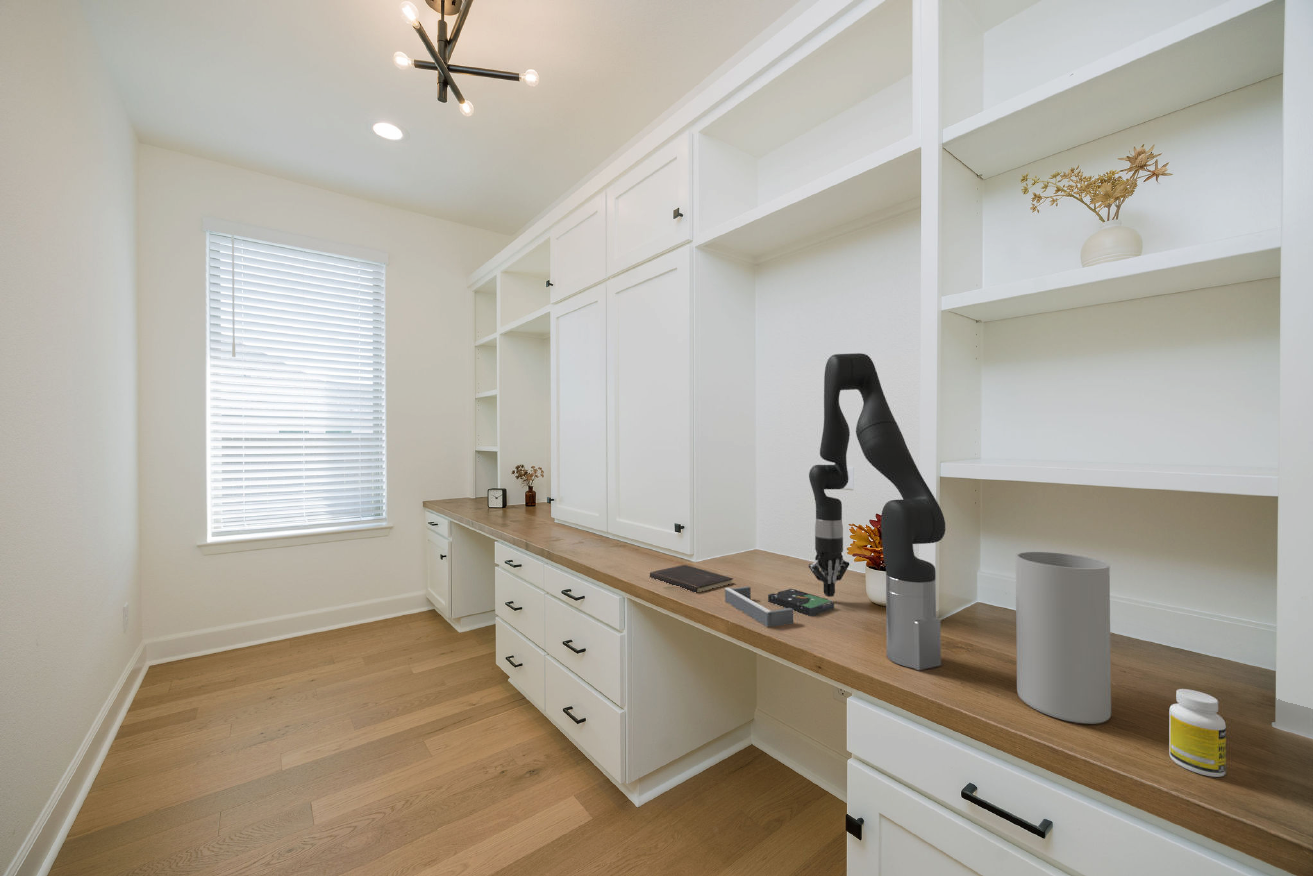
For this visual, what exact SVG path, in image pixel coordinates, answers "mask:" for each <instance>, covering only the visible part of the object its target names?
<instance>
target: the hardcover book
mask: <svg viewBox="0 0 1313 876" xmlns="http://www.w3.org/2000/svg"><path fill="white" fill-rule="evenodd" d="M650 577H651V579H653V578H654V579H653V580H656V579H658V580H660V581H659V582H661V581H664V582H666V583H665V584H667V583H669V584H668V585H670V584H672V585H671V586H673V585H676V586H680V587H682V588H685V589H687V590H686V591H688V590H690V591H689V592H691V591H692V592H691V593H694V592H696V593H695V594H698V593H697V592H699V593H702V591H703V592H705V590H706V591H709V589H710V590H713V589H712V588H714V589H717V588H716V587H718V588H720V587H719V586H721V587H724V585H725V586H729V585H732V584H731V583H733V582H732V580H734V578H733V577H730V576H726V575H723V574H719V573H715V572H711V571H707V570H705V569H701V568H697V567H694V566H690V565H687V564H682V565H678V566H672V567H668V568H663V569H658V570H655V571H650V573H649V578H650ZM658 580H657V581H658ZM664 582H663V583H664ZM728 584H729V585H728ZM676 586H675V587H676ZM682 588H681V589H682ZM685 589H684V590H685Z"/></svg>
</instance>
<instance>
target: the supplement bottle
mask: <svg viewBox="0 0 1313 876" xmlns="http://www.w3.org/2000/svg"><path fill="white" fill-rule="evenodd" d="M1175 698H1176V699H1175V700H1176V702H1177V703H1172V704H1171V705H1170V707H1169V710H1168V711H1169V713H1168V715H1169V716H1168V718H1169V721H1168V722H1169V724H1168V726H1169V727H1168V730H1169V732H1168V734H1169V735H1168V738H1169V745H1168V748H1169V754H1168V755H1169V757H1170V759H1171V761H1173V762H1174V763H1176V765H1178V766H1180V767H1182V768H1184V769H1186V770H1187V771H1190V772H1193V773H1196V774H1199V775H1203V776H1207V777H1211V778H1212V777H1213V778H1220V777H1221V778H1222V777H1224V776H1225V775H1226V773H1227V772H1226V771H1227V767H1226V766H1227V765H1226V764H1227V762H1226V761H1227V759H1226V758H1227V757H1226V755H1227V753H1226V751H1227V750H1226V748H1227V746H1226V744H1227V743H1226V742H1227V741H1226V739H1227V728H1226V721H1225V720H1224V719H1223V717H1222V716H1221V715H1219V714H1217V713H1218V712H1219V700H1218V699H1217V698H1215V697H1214V696H1212V695H1210V694H1208V693H1205V692H1201V691H1198V690H1195V689H1193V690H1192V689H1187V688H1179V689H1176V697H1175Z"/></svg>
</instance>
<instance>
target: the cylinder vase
mask: <svg viewBox="0 0 1313 876" xmlns="http://www.w3.org/2000/svg"><path fill="white" fill-rule="evenodd" d="M1110 571H1111V569H1110V564H1109V563H1108V562H1106V561H1102V560H1099V559H1096V558H1092V557H1087V556H1082V555H1076V554H1075V555H1074V554H1069V553H1068V554H1067V553H1062V552H1061V553H1060V552H1049V551H1021V552H1017V553H1015V609H1016V610H1015V612H1016V614H1015V615H1016V619H1015V620H1016V624H1015V626H1016V630H1015V632H1016V692H1017V695H1018V696H1019V698H1020V700H1021V701H1022V702H1024V703H1025V704H1026V705H1027V706H1029V707H1031V709H1034V710H1036V711H1038V712H1040V713H1041V714H1045V715H1047V716H1049V717H1053V718H1055V719H1059V720H1062V721H1066V722H1070V723H1075V724H1082V725H1083V724H1084V725H1085V724H1086V725H1096V724H1097V725H1098V724H1102V723H1105V722H1107V721H1108V720H1109V719H1110V718H1111V716H1112V687H1111V686H1112V681H1111V677H1112V673H1111V671H1112V670H1111V665H1112V664H1111V661H1112V660H1111V595H1110V594H1111V592H1110V590H1111V588H1110V587H1111V586H1110V585H1111V584H1110V583H1111V581H1110V579H1111V578H1110V573H1111V572H1110Z"/></svg>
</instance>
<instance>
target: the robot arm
mask: <svg viewBox="0 0 1313 876" xmlns="http://www.w3.org/2000/svg"><path fill="white" fill-rule="evenodd" d="M875 366H876V365H875V364H874V362H873V360H872V358H871V357H870V355H868V354H866V353H859V352H857V353H856V352H855V353H836V354H832V355H831V356H829V358H828V359H827V361H826V363H825V368H824V374H823V375H824V377H823V379H824V380H823V429H822V435H821V441H820V442H821V443H820V447H819V455H820V458H821V459H822V460H824V461H826V462H830V463H834V464H815V465H813V466H812V467H811V468H810V470H809V472H808V477H809V478H808V479H809V484H810V487H811V490H812V493H813V496H814V503H815V525H814V550H815V552H816V555H815V558H814V559H815V561H814V562H812V563H809V564H808V568H809V570H810V571H811V572H812V574H813V575H814V576H815V579H817V581H819V582H822V583H823V594H824V596H826V597H828V598H830V597H834V596H835V593H836V583H837V581H841V580H842V578H843V577H844V576H845V573H846V571H847V570H848V568H849V566H850V562H848V561H846V560H845V559H844V556H843V554H842V553H843V552H844V526H843V504H842V501H841V500H840V499H839V498H836V497H831V496H828V495H827V494H826V493H825V490H842V489H844V488H846V486H847V485H848V483H849V478H850V477H849V470H848V465H847V461H848V460H847V452H848V447H849V442H850V434H851V432H850V431H851V430H850V425H849V424H848V421H847V419H846V417H845V415H844V414H843V411H842V408H841V406H840V394H841V391H851V390H852V391H853V390H854V391H855V390H857V391H859V394H860V395H861V397H862V401H863V406H862V408H861V412H860V414H859V418H858V420H857V423H856V428H855V435H856V438H857V440H858V444H859V446H860V448H861V451H862V454H863V456H864V457H865V459H866V460H867V462H868V463H869V464H870V465H871V466H872V467H873V468H875V469H876V470H877V471H878V472H879V473H880V474H881V475H882V476H884V477H885V478H886V479H887V480H888V481H889V482H891V484H893V486H894V487H895V488H896V490H897V491H898V492H899V494H900V496H901V498H902V499H893V500H888V501H887V502H886V503H885V504H884V506H883V508H882V511H881V515H880V516H881V518H880V528H881V531H880V532H881V542H882V543H881V544H882V545H881V546H882V556H883V561H884V565H885V593H886V594H885V607H886V609H885V610H886V611H885V612H886V613H885V614H886V615H885V616H886V621H885V622H886V623H885V624H886V631H885V632H886V656H887V658H888V659H889V660H890V661H891V662H893V663H895V664H897V665H901V666H904V667H906V668H911V669H914V670H917V671H923V670H927V669H931V668H937V667H940V666H942V659H941V658H942V653H941V652H942V651H941V650H942V649H941V648H942V647H941V645H942V644H941V643H942V642H941V641H942V640H941V636H942V635H941V634H942V633H941V624H942V623H941V619H940V618H939V617H938V616H937V607H936V606H937V604H936V603H937V600H936V599H937V597H936V596H937V594H936V593H937V590H936V589H937V587H936V585H937V584H936V581H937V577H936V576H937V575H936V574H937V573H936V567H935V566H934V564H933V563H932V562H929V561H926V560H923V559H921V558H918V557H917V556H916V555H915V552H914V545H921V544H923V545H924V544H927V545H928V544H934V543H938V542H940V541H942V539H943V538H944V536H945V533H946V519H945V516H944V514H943V511H942V509H941V506H940V505H939V503H938V501H937V499H936V498H935V495H934V494H933V493H932V491H931V489H930V488H929V486H928V485H927V483H926V481H925V479H924V477H923V475H922V474H921V472H920V470H919V469H918V466H917V465H916V463H915V461H914V459H913V456H912V454H911V452H910V451H909V448H908V446H907V443H906V441H905V438H904V436H903V433H902V432H901V429H900V427H899V425H898V423H897V421H896V420H895V417H894V414H893V412H892V411H891V409H890V406H889V403H888V401H887V399H886V398H887V397H885V393H884V390H883V388H882V385H881V381H880V378H879V376H878V372H877V369H876V367H875Z"/></svg>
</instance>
